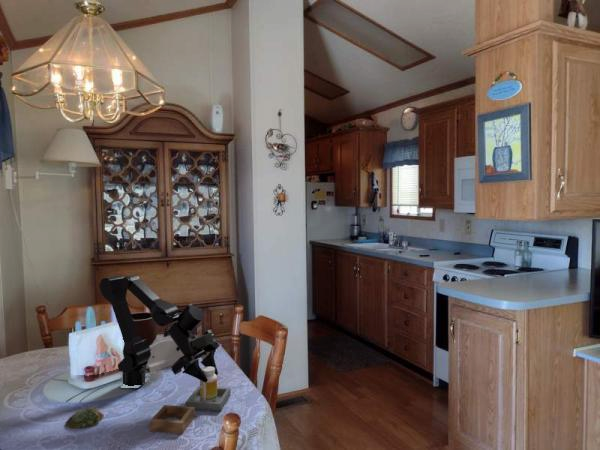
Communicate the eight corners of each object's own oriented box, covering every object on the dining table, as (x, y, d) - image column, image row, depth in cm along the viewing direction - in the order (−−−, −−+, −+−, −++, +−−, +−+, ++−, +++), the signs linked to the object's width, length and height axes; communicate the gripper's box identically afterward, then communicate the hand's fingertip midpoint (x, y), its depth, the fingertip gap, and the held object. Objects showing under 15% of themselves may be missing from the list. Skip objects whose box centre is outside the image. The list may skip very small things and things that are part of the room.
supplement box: (197, 357, 174) (197, 319, 173) (185, 357, 174) (185, 319, 173) (202, 350, 183) (202, 314, 182) (191, 350, 183) (190, 313, 182)
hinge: (149, 372, 159) (144, 345, 161) (143, 373, 162) (138, 347, 164) (187, 360, 172) (182, 335, 173) (181, 361, 175) (176, 337, 176)
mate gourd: (144, 348, 184) (144, 303, 183) (164, 355, 176) (164, 308, 175) (111, 359, 172) (110, 310, 171) (131, 367, 164) (130, 316, 162)
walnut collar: (150, 431, 118) (150, 420, 118) (164, 414, 128) (164, 404, 127) (182, 433, 117) (182, 423, 117) (194, 416, 127) (194, 406, 126)
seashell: (91, 396, 130) (110, 406, 125) (93, 409, 131) (111, 419, 125) (58, 412, 122) (76, 423, 117) (59, 425, 123) (77, 437, 117)
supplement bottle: (220, 395, 138) (220, 366, 137) (212, 403, 132) (212, 373, 132) (205, 393, 139) (204, 364, 138) (196, 401, 134) (196, 371, 133)
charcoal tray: (185, 409, 131) (185, 401, 131) (198, 393, 142) (198, 386, 142) (220, 411, 130) (220, 403, 129) (230, 395, 141) (230, 388, 140)
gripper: (179, 332, 127) (209, 374, 124) (215, 317, 144) (243, 354, 141) (158, 353, 131) (187, 395, 127) (196, 336, 148) (222, 373, 144)
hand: (212, 378), depth 135 cm, fingers closed on supplement bottle, 5 cm apart
